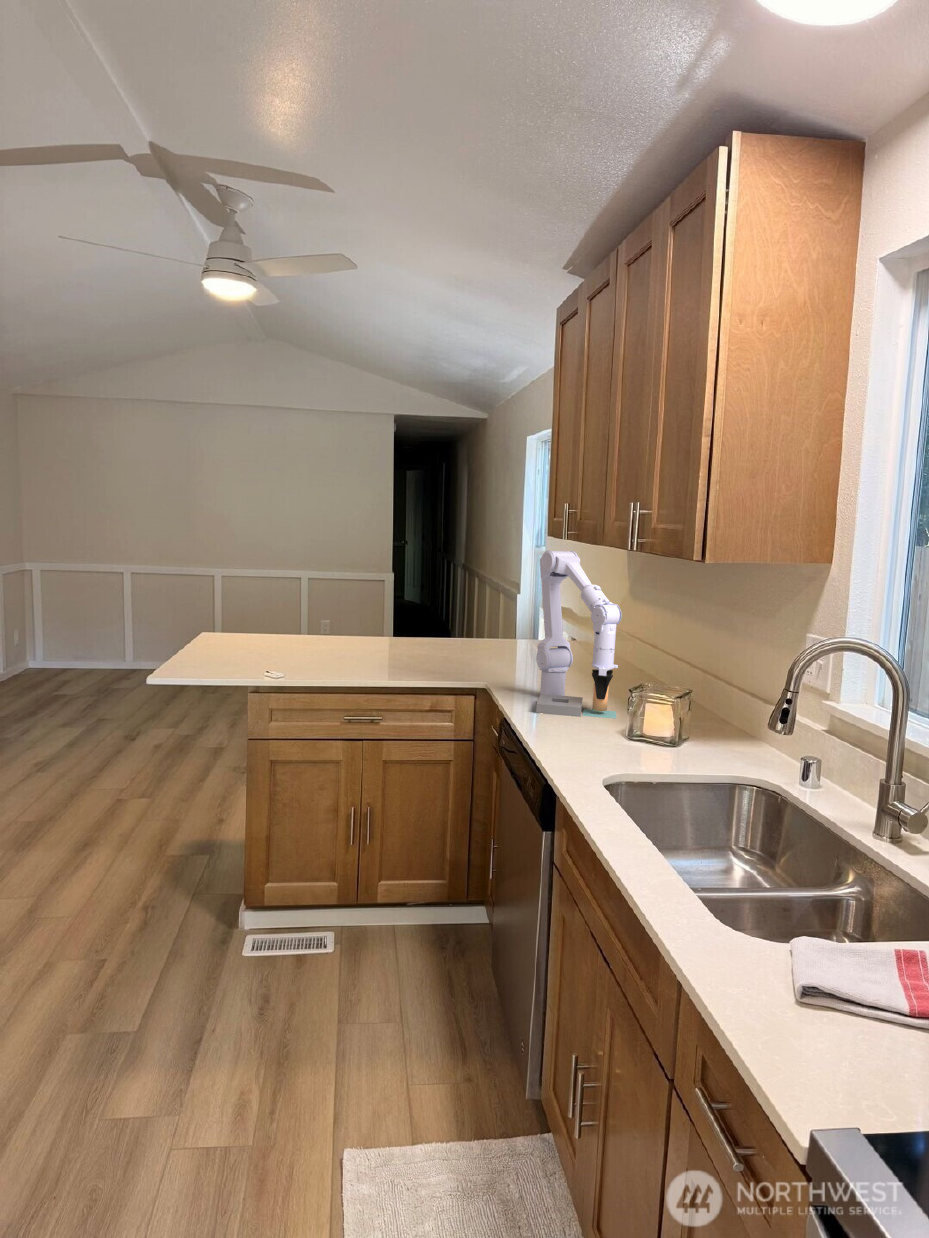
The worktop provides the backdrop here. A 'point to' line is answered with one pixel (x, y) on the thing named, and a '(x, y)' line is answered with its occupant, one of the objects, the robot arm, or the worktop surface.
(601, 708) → the plug
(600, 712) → the mat
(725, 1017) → the worktop surface
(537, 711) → the block
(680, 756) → the worktop surface
